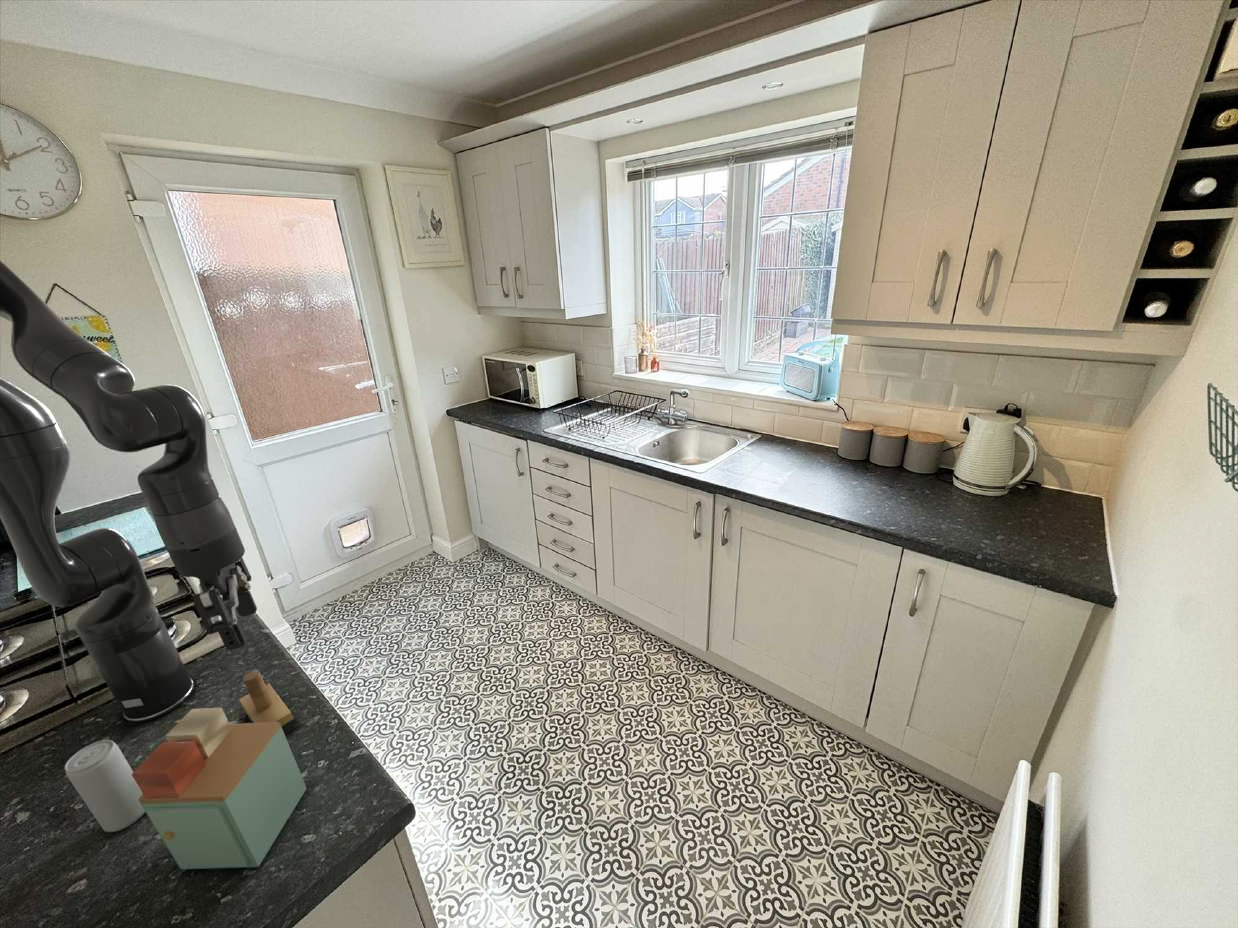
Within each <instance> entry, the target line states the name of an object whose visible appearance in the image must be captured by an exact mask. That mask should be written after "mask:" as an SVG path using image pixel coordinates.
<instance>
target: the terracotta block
mask: <svg viewBox="0 0 1238 928" xmlns="http://www.w3.org/2000/svg"><path fill="white" fill-rule="evenodd" d="M205 765H206V763H205V761H204V759H203V758H202V756H201V754H200V752H199V750H198V748H197V746H196V744H195V742H171V743H169V742H161V743H160V745H158V747H157V748H155V750H154V751H152V753H151V754H150V755H149V756H147V758H146V759H145V760H143V762H141V764H139V766H138V767H137V768H136V769H135V770H134V771H133V773H132V776H133V778H134V780H135V781H136V783H137V785H138V786H139V788H140V790H141V791H142V793H143V795H144V796H145V798H160V797H179V796H180V795H181V794H182V793H183V791H184V790H185V789H186V788H187V787H188V785H189V784H190V783H191V782H192V781H193V780H194V778H195V777H196V776H197V775H198V774H199V773H200V771H201V770H202V769H203V768H204V767H205Z"/></svg>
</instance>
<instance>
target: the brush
mask: <svg viewBox="0 0 1238 928" xmlns="http://www.w3.org/2000/svg"><path fill="white" fill-rule="evenodd" d="M242 680H243V683H244V685H245V687H246V689H247V692H248V694H247V695H245V696H242V697H241V698H239V699H238V700H239V703H240V706H241V707H242V709H243V710H244V712H245V714H246V716H248V718H249V720H250V721H251V723H271V722H279V723H280V725H281V727H282V730H283V732H284V735H285V736H287V735H288V734H290V733H291V732H293V731H295V730H296V726H295V724H294V721H293V720H294V717H293V714H292V712H291V711H290V710H289V708H288V707H287V705H286V704H285V703H284V701H283V700H282V698H281V697H280V696H279V695H278V693H277V692H276V691H275V689H274V688H273V686H272V685H271V684H270V683H268V682H267V683H266V684H265V681H264V679H263V676H262V674H261V672H260V671H259V670H258V669H257V670H252V671H249V672H248V673H246V674H245V675H244V676H243V679H242Z"/></svg>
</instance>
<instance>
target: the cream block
mask: <svg viewBox="0 0 1238 928" xmlns="http://www.w3.org/2000/svg"><path fill="white" fill-rule="evenodd" d="M230 724H231V723H229V720H228V718H227V716H226V714H225V712H224V709H223V708H222V707H209V708H208V707H207V708H206V707H204V708H191V709H190V710H189V711H188V712H187V713H186V714H185V715H184V716H183V717H182V718H181V719H180V720H179V721H178V722H177V723H176V725H174V726H173V727H172V728H171V729H170V730H169V731H168V732H167V734H165V739H166V741H167V743H171V742H195V744H196V746H197V748H198V750H199V752H200V754H201V756H202V758H209V756H210V755H211V754H212V753H213V752H214V751H215V749H216V748H217V747H218V746H219V745H220V744H221V742H222V741H223V740H224V739H225V738H226V737H227V735H228V734H229V733H230V732H231V731H232V729H231V727H230Z"/></svg>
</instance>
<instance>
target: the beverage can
mask: <svg viewBox="0 0 1238 928" xmlns="http://www.w3.org/2000/svg"><path fill="white" fill-rule="evenodd" d="M64 771H65V775H66V777H67V778H68V780H69V781H70V782H71V784H72V786H73V787H74V788H75V790H76V792H77V793H78V794H79V796H80V797H81V799H82V800H83V802H84V804H85V805H86V806H87V808H88V809H89V810H90V813H91V814H92V816H93V817H94V818H95V819H96V822H98V824H99V826H100V827H101V829H102V830H103V831H104V832H106V833H115V832H120V831H122V830H124V829H127V828H128V827H130V826H132V825H133V824H134V823H137V821H138V820H139V819H140V818H142V817H143V815H144V814H146V812H145V810H144V809H143V807H142V805H141V804H140V802H139V800H138V799H139V798H140V797H141V796H142V795H143V793H142V791H141V790H140V788H139V786H138V785H137V783H136V781H135V780H134V778H133V776H132V773H133V772H134V771H133V769H132V767H131V765H130V764H129V763H128V761H127V759H126V758H125V755H124V753H122V750H121V748H120V746H118V744H117V743H116V742H115V741H113V740H112V739H102V740H98V741H95V742H93V743H90V744H89V745H87V746H84V747H83V748H82V749H79V750H78V751H77V752H76V753H74V754H73V755H72V756H71V757H70V758H69V759H67V761H66V763H65V765H64Z"/></svg>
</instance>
